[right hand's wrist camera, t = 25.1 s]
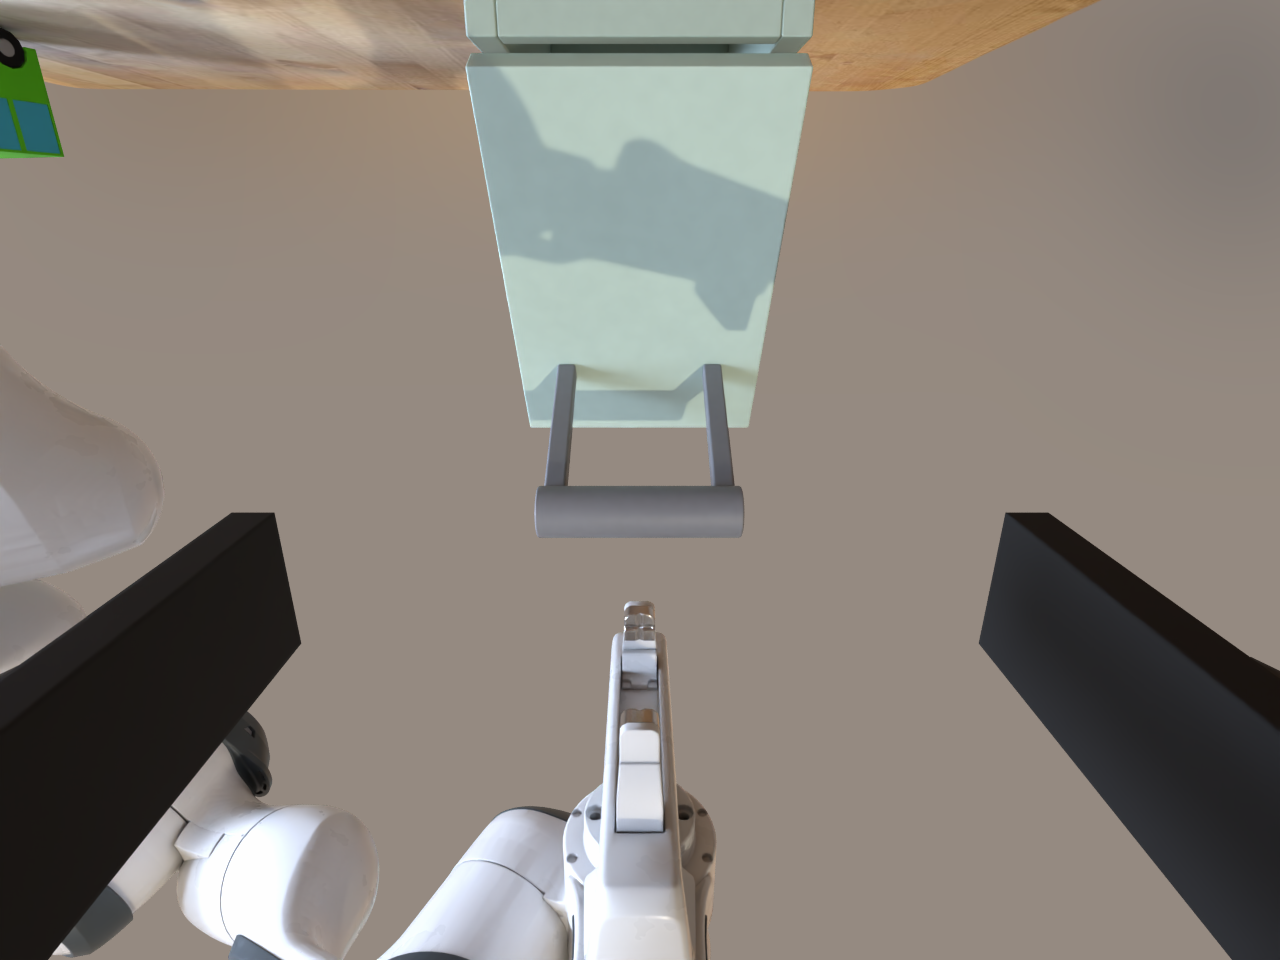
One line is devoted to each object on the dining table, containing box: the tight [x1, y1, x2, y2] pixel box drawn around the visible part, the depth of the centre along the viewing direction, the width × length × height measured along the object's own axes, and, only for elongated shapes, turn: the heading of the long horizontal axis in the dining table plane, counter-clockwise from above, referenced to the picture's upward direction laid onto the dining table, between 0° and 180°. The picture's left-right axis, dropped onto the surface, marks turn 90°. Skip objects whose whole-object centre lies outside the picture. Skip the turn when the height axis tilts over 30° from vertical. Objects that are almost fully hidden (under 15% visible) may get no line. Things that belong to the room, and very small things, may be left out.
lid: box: [466, 53, 813, 538], centre depth 22 cm, size 14×9×9 cm
